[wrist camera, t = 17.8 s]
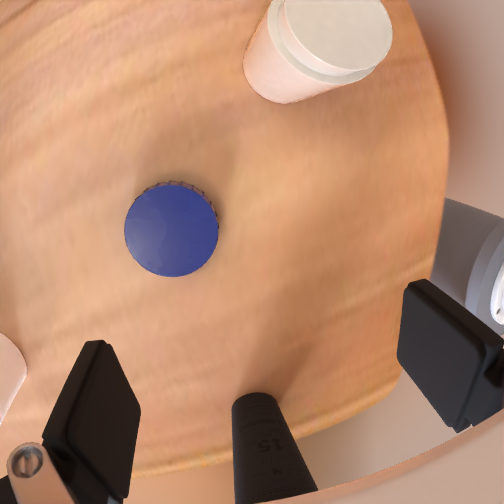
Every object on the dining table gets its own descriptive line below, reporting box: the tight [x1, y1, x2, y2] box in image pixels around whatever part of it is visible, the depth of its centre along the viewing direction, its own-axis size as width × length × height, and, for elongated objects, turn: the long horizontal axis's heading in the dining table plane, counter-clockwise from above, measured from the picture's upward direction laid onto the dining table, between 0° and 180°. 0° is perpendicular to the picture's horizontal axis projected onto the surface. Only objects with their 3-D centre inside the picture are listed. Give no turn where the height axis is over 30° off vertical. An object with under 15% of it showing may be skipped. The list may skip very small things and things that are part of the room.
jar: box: [243, 0, 393, 104], centre depth 15 cm, size 6×6×11 cm
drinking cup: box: [232, 393, 319, 504], centre depth 21 cm, size 8×8×20 cm
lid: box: [124, 181, 219, 277], centre depth 22 cm, size 7×7×2 cm
